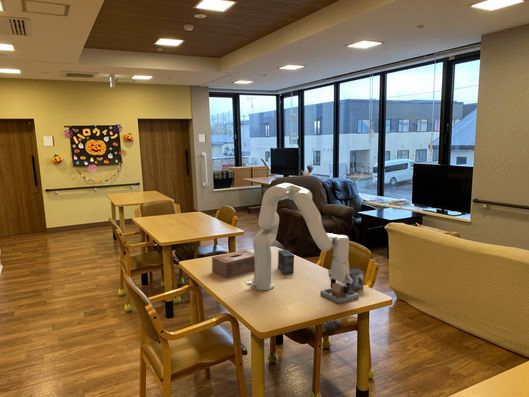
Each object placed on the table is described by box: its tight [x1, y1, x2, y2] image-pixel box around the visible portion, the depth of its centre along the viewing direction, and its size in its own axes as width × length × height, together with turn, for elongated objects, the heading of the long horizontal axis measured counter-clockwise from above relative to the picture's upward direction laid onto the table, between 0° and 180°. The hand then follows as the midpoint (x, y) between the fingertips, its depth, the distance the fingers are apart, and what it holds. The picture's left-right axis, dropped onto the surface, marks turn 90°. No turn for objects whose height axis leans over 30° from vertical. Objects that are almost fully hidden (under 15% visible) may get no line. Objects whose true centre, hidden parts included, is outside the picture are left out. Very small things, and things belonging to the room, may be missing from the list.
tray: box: [319, 287, 359, 305], centre depth 203 cm, size 14×14×2 cm
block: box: [332, 281, 347, 298], centre depth 202 cm, size 6×6×6 cm
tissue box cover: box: [211, 249, 254, 279], centre depth 241 cm, size 26×14×10 cm, turn 130°
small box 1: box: [277, 249, 295, 275], centre depth 242 cm, size 13×7×12 cm, turn 14°
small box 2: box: [341, 268, 365, 292], centre depth 213 cm, size 11×6×10 cm, turn 117°
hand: (339, 290), depth 202 cm, fingers open, 9 cm apart
